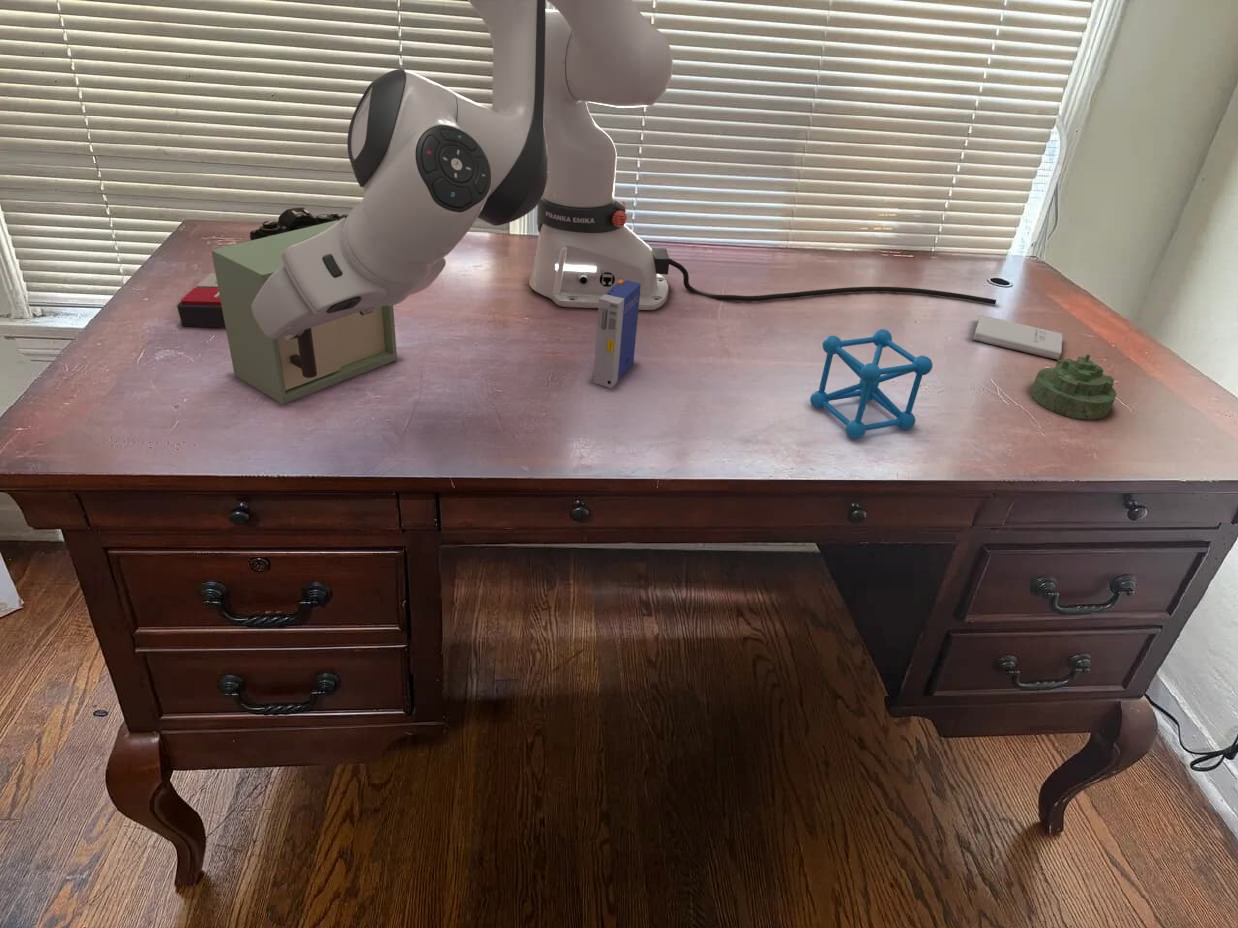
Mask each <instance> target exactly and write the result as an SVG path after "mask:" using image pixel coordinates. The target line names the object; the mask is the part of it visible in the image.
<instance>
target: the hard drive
mask: <svg viewBox="0 0 1238 928" xmlns="http://www.w3.org/2000/svg"><path fill="white" fill-rule="evenodd" d="M977 319H978V320H977V323H976V327H975V331H974V334H973V338H972V340H973V341H977V342H980V343H984V344H989V345H994V346H997V347H1001V348H1005V349H1010V350H1014V351H1018V352H1021V353H1027V354H1029V355H1030V354H1031V355H1035V356H1039V357H1042V358H1043V357H1044V358H1048V359H1052V360H1056V361H1058V360H1060V358H1061V355H1062V352H1063V350H1062V349H1063V333H1060V332H1057V331H1053V330H1047V329H1044V328H1039V327H1036V326H1031V325H1027V324H1022V323H1018V322H1014V321H1010V320H1005V319H1001V318H997V317H993V316H989V315H984V314H979V317H978V318H977Z"/></svg>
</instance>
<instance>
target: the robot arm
mask: <svg viewBox="0 0 1238 928" xmlns="http://www.w3.org/2000/svg"><path fill="white" fill-rule="evenodd" d="M467 1H468V2H469V3H470V5H471V7H473V8H474V10H475V11H476V13H477V14H478V15H479V17H480V18H481V20H482V21H483V23H484V25H485V26H486V29H487V30H488V33H489V36H490V40H491V43H492V97H491V99H492V100H491V101H492V104H491V105H492V106H491V108H489V107H486V106H485V105H482V104H480V103H478V102H475V101H473V100H472V99H469V98H467V97H465V96H463V95H460V94H459V93H457V92H454V91H453V90H451V89H450V88H448V87H446V86H444V85H442V84H440V83H437V82H435V81H433V80H430V79H429V78H426V77H424V76H422V75H420V74H417V73H415V72H413V71H409V70H406V69H404V68H397V69H393V70H390V71H388V72H386V73H384V74H382V75H380V76H379V77H377V78H376V79H374V80H373V81H371V82H370V83H369V85H368V87H366V90H365V91H364V93H363V94H362V96H361V97H360V100H359V102H358V103H357V106H356V108H355V110H354V112H353V114H352V117H351V120H350V123H349V127H348V131H347V139H346V140H347V154H348V159H349V162H350V165H351V168H352V171H353V174H354V177H355V179H356V182H357V184H358V185H359V187H360V188H362V189H363V190H364V193H363V198H362V200H361V202H360V203H358V204H357V205H356V206H354V207H353V208H352V209H351V210H350V212H349V214H347V215H348V216H347V218H346V219H345V218H342V219H341V220H339V221H337V222H336V223H335V224H333V225H332V226H331V227H329V228H328V229H326V230H324V231H323V232H321V233H318V234H316V235H314V236H312V237H310V238H307V239H305V240H303V241H300V242H298V243H296V244H294V245H292V246H290V247H288V248H287V249H286V250H285V251H284V252H283V254H282V255H281V259H282V261H283V263H284V265H283V266H282V267H280V268H279V269H277V270H276V271H275V272H274V273H273V274H272V275H271V276H270V277H269V278H268V279H267V281H266V282H265V283H264V285H263V286H262V288H261V289H260V291H259V292H258V294H257V296H256V297H255V299H254V301H253V303H252V307H251V310H252V313H253V316H254V318H255V320H256V322H257V323H258V325H259V327H260V328H261V330H262V331H263V333H264V334H265V335H266V336H267V337H268V338H270V339H273V340H275V339H279V338H282V337H284V338H285V339H286V340H287V341H288V340H291V339H295V338H297V337H300V336H301V334H303V332H304V331H305V330H306V329H309V328H312V327H315V326H318V325H321V324H324V323H327V322H330V321H333V320H336V319H339V318H342V317H345V316H348V315H351V314H354V313H357V312H359V313H360V314H361V315H366V314H369V313H372V312H374V311H375V310H376V309H377V308H378V307H379V306H392V305H393V306H396V305H398V304H401V303H402V302H404V301H405V300H407V298H408V297H410V296H411V295H415V294H418V293H420V292H422V291H425V290H426V289H427V288H429V287H430V286H431V285H432V284H433V283H434V282H435V280H436V279H437V278H438V277H439V275H440V274H441V273H442V271H443V270H444V269H445V267H446V265H447V264H446V263H447V261H446V258H445V257H447V256H448V255H449V254H450V253H451V252H452V251H453V250H454V249H455V248H456V247H457V245H458V244H459V243H460V242H461V241H462V240H463V238H465V236H466V235H467V234H468V232H469V231H470V230H471V228H472V227H473V226H474V224H475V222H476V221H477V219H479V220H482V221H484V222H486V223H488V224H489V225H491V226H495V227H498V226H502V225H506V224H509V223H511V222H514V221H517V220H519V219H521V218H523V217H525V216H526V215H528V214H529V213H531V212H532V211H533V210H534V209H535V208H536V225H537V231H538V238H537V245H536V252H535V256H534V262H533V264H532V269H531V272H530V275H529V278H528V285H529V287H530V288H531V290H533V291H534V292H536V293H537V294H539V295H541V296H544V297H546V298H548V299H550V300H551V301H552V302H553V303H554V304H556V305H557V306H559V307H561V308H578V309H579V308H580V309H585V308H586V309H598V306H599V298H601V297H602V296H603V295H604V294H605V293H606V292H607V291H609V290H610V289H611V288H612V287H613V286H614V285H616V284H617V282H618V281H619V280H620V279H623V280H627V281H632V282H636V283H641V288H640V299H639V309H638V311H655V310H657V309H659V308H661V307H662V306H664V304H665V303H666V302H667V300H668V297H669V283H668V281H667V279H666V277H664V275H669V270H670V269H669V268H670V266H672V267H674V268H675V269H677V270H679V271H680V272H681V274H682V277H683V286H684V288H685V289H686V290H687V291H689V293H691V294H694V295H699V296H703V297H707V298H710V299H713V300H718V301H719V300H720V301H737V302H761V301H771V300H782V299H783V300H784V299H794V298H804V297H813V296H822V295H823V296H824V295H833V294H846V293H847V294H848V293H870V292H874V293H875V292H879V293H880V292H881V293H882V292H883V293H887V292H888V293H905V294H917V295H918V294H919V295H927V296H928V295H929V296H935V297H944V298H952V299H959V300H964V301H972V302H977V303H982V304H988V305H994V306H995V305H996V303H997V299H995V298H989V297H983V296H977V295H970V294H963V293H957V292H951V291H943V290H937V289H927V288H917V287H915V288H914V287H903V286H852V287H849V286H848V287H838V288H837V287H836V288H825V289H816V290H815V289H814V290H806V291H805V290H803V291H796V292H782V293H772V294H763V295H761V294H760V295H739V294H738V295H737V294H710V293H704V292H701V291H699V290H697V289H695V288H694V287H693V286H692V285H691V284H690V282H689V279H690V277H689V272H688V270H687V269H686V268H685V267H684V265H682V264H681V263H679V262H677V261H675V260H674V259H671V258H670V257H669V252H668V250H667V248H664V247H663V248H662V247H652V248H651V246H650V245H649V244H648V243H646V242H645V241H644V240H643V239H641V238H640V237H639V236H638V235H637V234H636V233H635V232H634V231H632V229H630V228H629V227H628V226H627V225H626V221H627V218H628V215H627V207H626V202H625V201H624V200H623V201H622V202H620V200H618V199H617V198H615V185H616V183H615V182H616V171H617V159H618V154H617V148H616V146H615V143H614V141H613V139H612V138H611V137H610V136H609V134H608V133H607V132H605V131H604V130H603V129H602V128H601V127H600V126H599V125H598V124H597V123H596V122H595V121H594V119H593V117H592V115H591V113H590V111H589V107H588V103H592V104H597V105H601V106H602V105H603V106H608V107H614V108H618V109H619V108H620V109H626V108H628V109H629V108H643V107H645V108H646V107H652V106H653V105H655V104H656V103H657V102H658V101H659V100H660V99H661V98H662V97H663V96H664V94H665V93H666V91H667V90H668V87H669V85H670V83H671V79H672V75H673V71H674V70H673V69H674V68H673V67H674V60H673V59H674V58H673V53H672V49H671V46H670V44H669V42H668V40H667V38H666V36H665V35H664V34H663V32H661V31H660V30H659V29H658V28H656V27H655V26H654V25H653V24H652V23H651V22H650V21H649V20H648V19H647V18H646V17H645V16H644V15H643V14H642V12H641V11H640V10H639V8H638V7H637V5H636V4H635V2H634V1H633V0H467ZM546 2H547V3H549V4H550V5H551V6H553V8H555V9H549V8H546V6H547V5H546Z"/></svg>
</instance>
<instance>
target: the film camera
mask: <svg viewBox="0 0 1238 928" xmlns="http://www.w3.org/2000/svg"><path fill="white" fill-rule="evenodd" d="M348 215H349V214H341V215H339V214H338V213H336V212H332V213H321V214H318V215H317V216H314V215H313V214H311V213H310V211H309V210H307V209H306V208H305V207H292V208H288V209H285V210H284V211H283V212H282V213H280V215H279V217H278V219H277V221H272V220H266V221H263V222H262V223H261V224H262V225H260V226H259V228H257V229H253V230H251V231H250V232H249V238H250V241H251V240H256V239H260V238H264V237H268V236H273V235H277V234H281V233H285V232H290V231H294V230H298V229H302V228H306V227H311V226H315V225H319V224H323V223H328V222H332V221H336V220H338V221H339V220H341V219H342V218H345V219H346V218H347V216H348Z"/></svg>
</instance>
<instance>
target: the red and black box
mask: <svg viewBox="0 0 1238 928" xmlns="http://www.w3.org/2000/svg"><path fill="white" fill-rule="evenodd" d="M176 307H177V312H178V315H179V319H180V322H181V326H183V327H207V328H209V327H210V328H211V327H212V328H226V327H225V321H224V316H223V311H222V305H221V300H220V295H219V290H218V284H217V279H216V274H215V273H209V274H207V275H206V276H205V277H204V278H203V279H202V280H201V281H199V282H198V283H197V284H196V287H193V288H192V289H191V290H190V291H189V292H188V293H186V295H184V297H182V298H181V300H180V302H179V303H178V304H177V305H176Z"/></svg>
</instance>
